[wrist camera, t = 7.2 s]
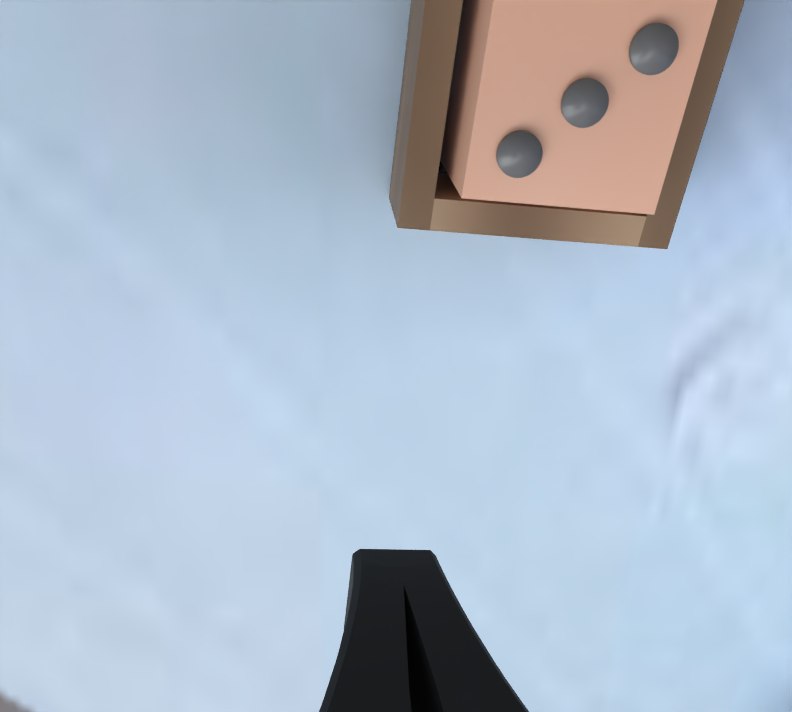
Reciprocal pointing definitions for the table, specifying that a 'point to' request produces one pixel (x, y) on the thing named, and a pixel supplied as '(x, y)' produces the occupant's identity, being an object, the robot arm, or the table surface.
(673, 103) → the tile three
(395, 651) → the robot arm
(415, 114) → the tile tray
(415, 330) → the table surface
